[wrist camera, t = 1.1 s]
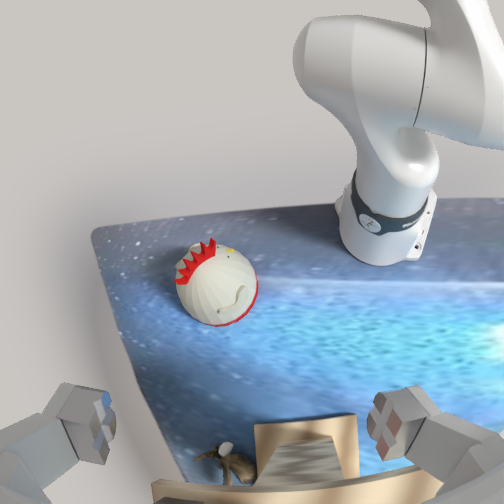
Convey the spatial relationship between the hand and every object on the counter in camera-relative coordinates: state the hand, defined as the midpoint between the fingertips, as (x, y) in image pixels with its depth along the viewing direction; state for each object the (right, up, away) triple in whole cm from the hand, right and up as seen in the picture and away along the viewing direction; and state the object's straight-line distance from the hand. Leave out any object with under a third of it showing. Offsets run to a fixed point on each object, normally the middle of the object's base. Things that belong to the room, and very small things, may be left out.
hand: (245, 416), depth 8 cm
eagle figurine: (-3, -30, +35) cm, 46 cm away
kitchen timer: (-6, -2, +48) cm, 48 cm away
